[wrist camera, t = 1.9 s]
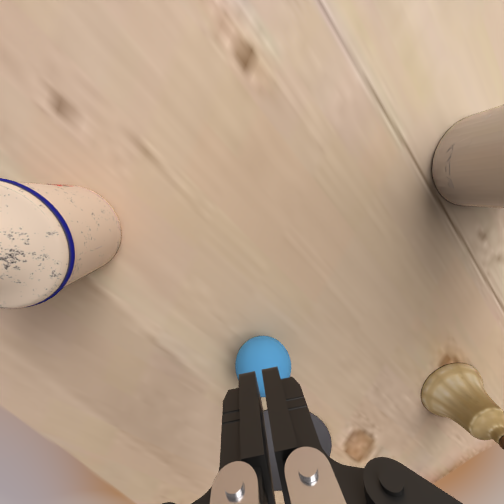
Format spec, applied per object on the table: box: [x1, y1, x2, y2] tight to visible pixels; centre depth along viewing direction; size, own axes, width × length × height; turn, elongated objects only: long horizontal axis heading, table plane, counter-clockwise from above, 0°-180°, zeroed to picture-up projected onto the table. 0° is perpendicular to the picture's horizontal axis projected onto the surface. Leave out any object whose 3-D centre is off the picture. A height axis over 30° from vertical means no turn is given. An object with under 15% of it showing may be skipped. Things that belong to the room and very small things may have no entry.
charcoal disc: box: [263, 410, 331, 491], centre depth 33 cm, size 14×14×1 cm
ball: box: [235, 336, 291, 397], centre depth 27 cm, size 6×6×6 cm
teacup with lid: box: [0, 178, 121, 309], centre depth 20 cm, size 12×9×12 cm
